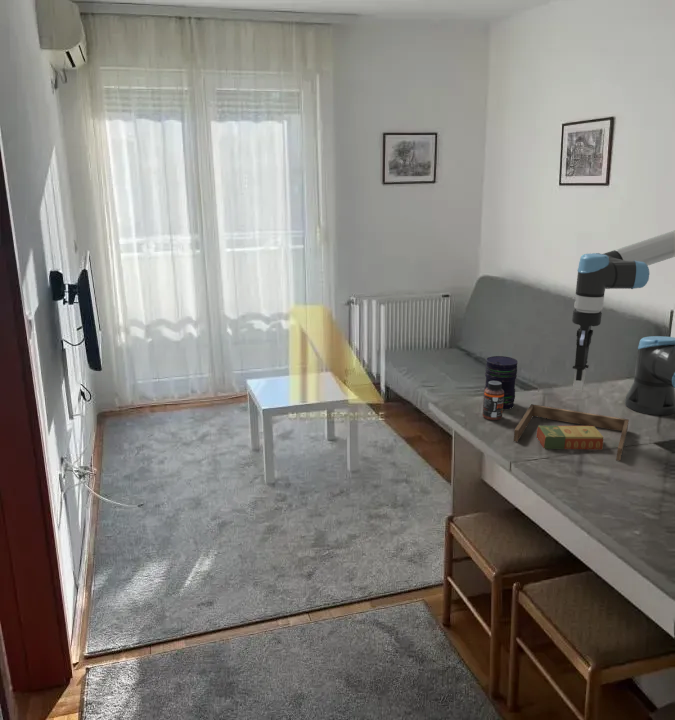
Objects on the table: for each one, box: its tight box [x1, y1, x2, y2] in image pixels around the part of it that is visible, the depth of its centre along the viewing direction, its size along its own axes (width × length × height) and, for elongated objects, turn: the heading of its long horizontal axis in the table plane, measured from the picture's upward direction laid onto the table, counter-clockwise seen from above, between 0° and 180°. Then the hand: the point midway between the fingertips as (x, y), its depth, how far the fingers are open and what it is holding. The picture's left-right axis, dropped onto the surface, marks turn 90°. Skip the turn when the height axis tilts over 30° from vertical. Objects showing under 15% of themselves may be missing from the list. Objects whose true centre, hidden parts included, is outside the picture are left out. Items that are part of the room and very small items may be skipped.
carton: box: [536, 425, 604, 451], centre depth 189 cm, size 8×16×4 cm, turn 88°
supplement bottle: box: [482, 381, 504, 421], centre depth 206 cm, size 6×6×11 cm
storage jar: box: [483, 355, 518, 410], centre depth 216 cm, size 10×10×15 cm
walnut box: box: [513, 403, 630, 462], centre depth 193 cm, size 28×23×4 cm
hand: (577, 389), depth 195 cm, fingers closed
